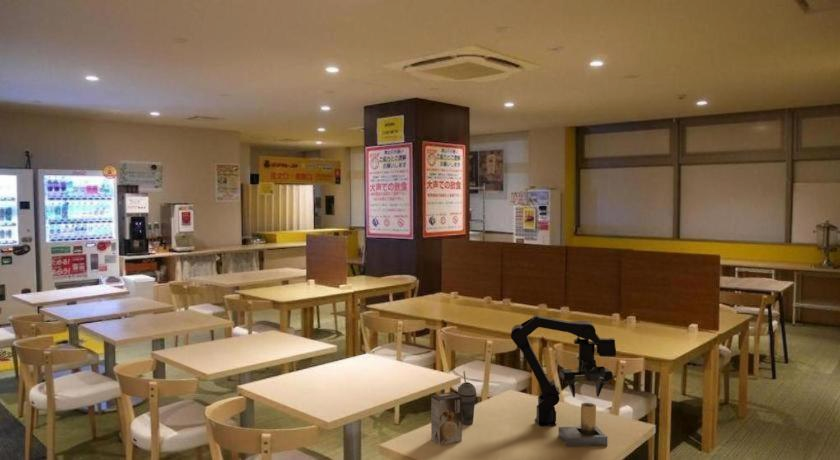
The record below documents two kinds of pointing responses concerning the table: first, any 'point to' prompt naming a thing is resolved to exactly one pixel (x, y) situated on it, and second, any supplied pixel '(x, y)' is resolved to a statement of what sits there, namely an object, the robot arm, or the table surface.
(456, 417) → the coffee box
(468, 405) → the beverage cup
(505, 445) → the table surface
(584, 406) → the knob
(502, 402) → the table surface
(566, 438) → the frame
